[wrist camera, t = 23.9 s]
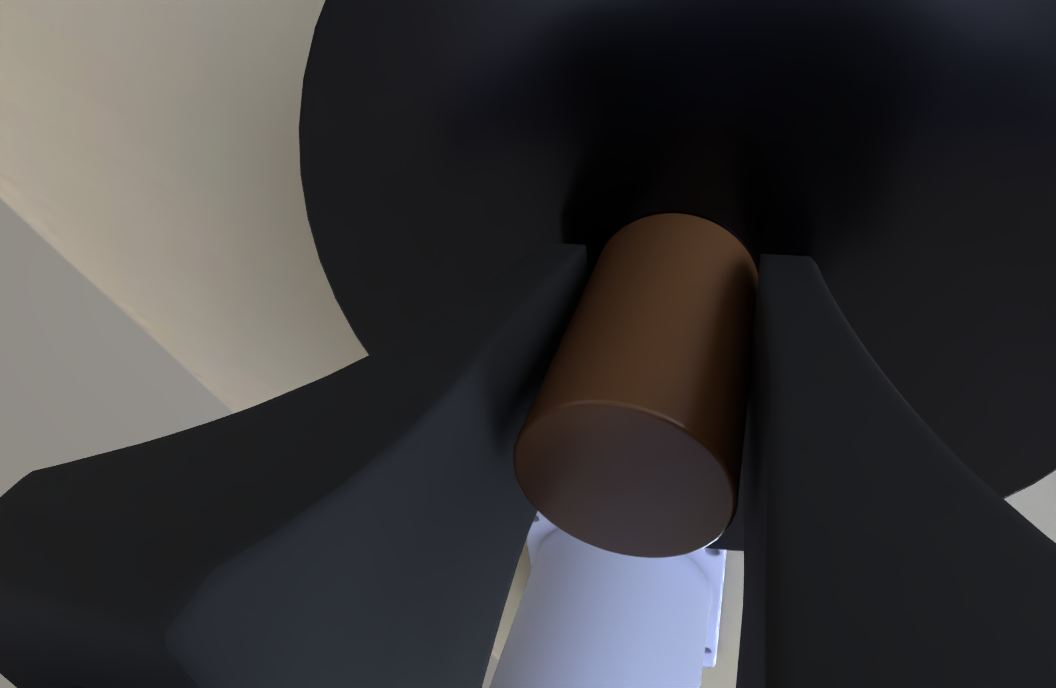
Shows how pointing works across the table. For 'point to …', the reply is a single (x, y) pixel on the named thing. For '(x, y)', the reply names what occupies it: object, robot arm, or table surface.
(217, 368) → the table surface
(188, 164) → the table surface
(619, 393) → the lid
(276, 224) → the table surface
